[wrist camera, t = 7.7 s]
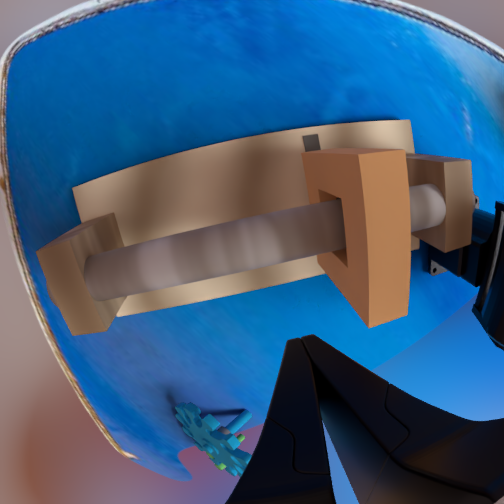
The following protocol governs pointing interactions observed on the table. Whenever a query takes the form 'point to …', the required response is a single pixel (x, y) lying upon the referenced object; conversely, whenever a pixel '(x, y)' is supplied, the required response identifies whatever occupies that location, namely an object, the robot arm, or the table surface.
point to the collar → (367, 226)
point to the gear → (216, 437)
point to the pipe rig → (230, 222)
